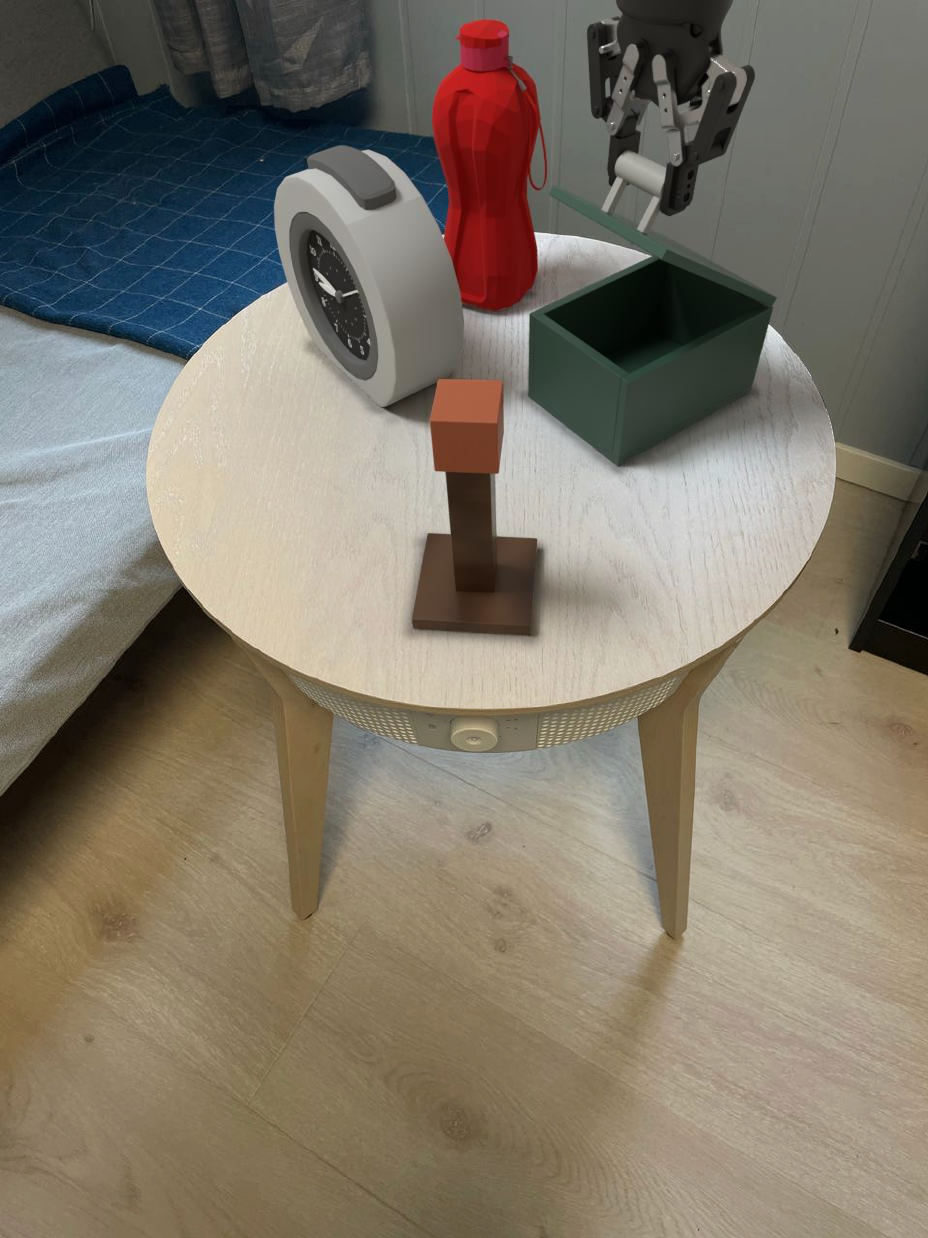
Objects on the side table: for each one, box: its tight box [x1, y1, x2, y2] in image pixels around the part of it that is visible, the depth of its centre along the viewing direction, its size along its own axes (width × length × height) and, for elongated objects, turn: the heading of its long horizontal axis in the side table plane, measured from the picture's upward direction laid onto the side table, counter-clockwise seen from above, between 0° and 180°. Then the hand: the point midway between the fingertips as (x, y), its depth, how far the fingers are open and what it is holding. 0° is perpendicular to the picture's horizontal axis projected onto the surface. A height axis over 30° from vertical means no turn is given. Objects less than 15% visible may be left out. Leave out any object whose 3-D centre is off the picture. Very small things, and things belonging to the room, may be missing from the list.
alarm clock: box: [273, 144, 465, 408], centre depth 79 cm, size 21×8×20 cm, turn 36°
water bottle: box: [431, 18, 548, 312], centre depth 83 cm, size 9×11×25 cm
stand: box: [411, 472, 538, 636], centre depth 62 cm, size 9×9×14 cm
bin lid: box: [548, 150, 778, 306], centre depth 69 cm, size 18×13×5 cm
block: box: [429, 378, 505, 475], centre depth 55 cm, size 4×4×4 cm
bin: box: [527, 255, 774, 467], centre depth 78 cm, size 17×13×9 cm
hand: (646, 196), depth 65 cm, fingers closed on bin lid, 5 cm apart
